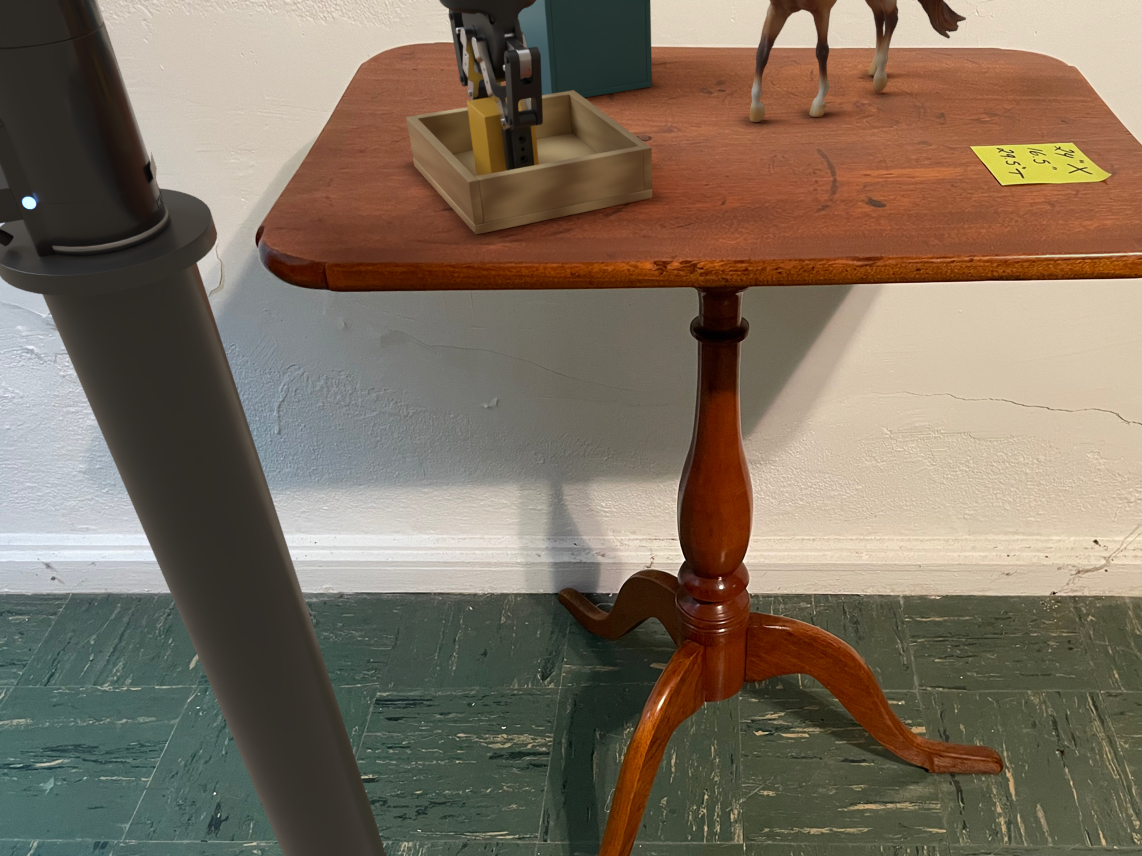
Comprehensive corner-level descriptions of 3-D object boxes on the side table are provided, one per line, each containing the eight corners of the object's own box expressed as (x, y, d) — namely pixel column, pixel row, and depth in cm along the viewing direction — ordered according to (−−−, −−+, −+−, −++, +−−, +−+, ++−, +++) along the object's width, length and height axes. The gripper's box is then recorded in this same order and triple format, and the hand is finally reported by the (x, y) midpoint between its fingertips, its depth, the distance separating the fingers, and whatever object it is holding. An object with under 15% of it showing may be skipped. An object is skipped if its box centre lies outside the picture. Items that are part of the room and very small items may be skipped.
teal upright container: (552, 103, 107) (543, -13, 101) (511, 70, 115) (500, -40, 108) (652, 86, 112) (650, -26, 105) (606, 56, 119) (601, -50, 112)
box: (475, 235, 84) (468, 181, 82) (414, 166, 95) (405, 116, 92) (652, 198, 90) (651, 147, 88) (577, 137, 101) (573, 89, 98)
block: (493, 190, 89) (484, 116, 85) (475, 172, 92) (466, 100, 88) (540, 181, 91) (534, 108, 87) (521, 164, 93) (514, 93, 89)
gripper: (401, -82, 82) (435, 138, 93) (465, -40, 73) (494, 198, 84) (494, -90, 85) (516, 124, 96) (567, -51, 76) (582, 181, 87)
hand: (506, 157), depth 90 cm, fingers open, 6 cm apart
